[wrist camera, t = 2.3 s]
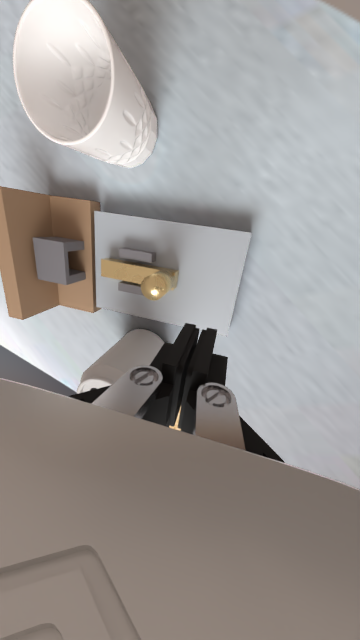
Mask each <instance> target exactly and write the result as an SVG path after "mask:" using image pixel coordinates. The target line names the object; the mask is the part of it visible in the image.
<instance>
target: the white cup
mask: <svg viewBox="0 0 360 640" xmlns="http://www.w3.org/2000/svg"><path fill="white" fill-rule="evenodd" d="M13 70H14V78H15V83H16V88H17V91H18V95H19V98H20V100H21V103H22V105H23V108H24V110H25V112H26V114H27V115H28V117H29V119H30V120H31V122H32V123H33V124H34V126H35V127H36V128H37V129H38V130H39V131H40V132H41V133H42V134H43V135H44V136H46V137H47V138H48V139H50V140H52V141H54V142H56V143H59V144H61V145H64V146H66V147H69V148H71V149H74V150H76V151H79V152H81V153H84V154H86V155H89V156H91V157H94V158H96V159H99V160H102V161H105V162H108V163H111V164H115V165H117V166H121V167H126V168H133V167H136V166H139V165H142V164H143V163H144V162H145V161H146V160H147V158H148V157H149V156H150V155H151V154H152V152H153V149H154V146H155V143H156V140H157V118H156V115H155V113H154V110H153V108H152V105H151V103H150V101H149V99H148V98H147V96H146V94H145V92H144V90H143V88H142V86H141V84H140V83H139V81H138V79H137V78H136V76H135V74H134V72H133V70H132V68H131V67H130V65H129V63H128V62H127V60H126V58H125V57H124V55H123V53H122V52H121V50H120V49H119V47H118V45H117V44H116V42H115V40H114V39H113V37H112V35H111V34H110V32H109V30H108V29H107V27H106V25H105V24H104V22H103V20H102V19H101V17H100V15H99V14H98V12H97V11H96V9H95V8H94V7H93V5H92V4H91V3H90V2H89V1H88V0H31V1H30V2H29V4H28V5H27V6H26V8H25V10H24V11H23V13H22V15H21V18H20V20H19V23H18V26H17V29H16V33H15V38H14V46H13Z"/></svg>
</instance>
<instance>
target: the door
mask: <svg viewBox="0 0 360 640" xmlns="http://www.w3.org/2000/svg"><path fill="white" fill-rule="evenodd" d="M251 234H252V233H251V232H243V231H236V230H229V229H222V228H215V227H208V226H200V225H193V224H186V223H179V222H172V221H165V220H157V219H150V218H143V217H136V216H129V215H122V214H114V213H107V212H100V202H95V201H89V200H82V199H74V198H66V197H59V196H51V195H45V194H40V193H34V192H29V191H23V190H18V189H12V188H7V187H1V186H0V271H1V277H2V282H3V287H4V292H5V297H6V303H7V308H8V313H9V316H10V317H14V318H17V319H21V320H24V319H26V318H29V317H31V316H34V315H36V314H38V313H41V312H43V311H46V310H48V309H51V308H53V307H56V306H58V305H62V306H66V307H70V308H74V309H79V310H83V311H87V312H91V313H94V312H96V311H98V310H100V309H101V308H103V309H107V310H112V311H116V312H121V313H125V314H129V315H134V316H138V317H143V318H147V319H151V320H156V321H160V322H165V323H169V324H173V325H178V326H182V327H184V325H185V323H189V324H194V325H196V328H199V330H200V331H202V329H204V330H206V329H207V327H208V328H212V329H217V335H222V336H226V337H227V335H228V331H229V327H230V323H231V318H232V314H233V310H234V306H235V302H236V297H237V293H238V289H239V285H240V281H241V276H242V272H243V268H244V264H245V260H246V255H247V251H248V247H249V243H250V239H251ZM104 258H113V259H119V260H124V261H130V262H135V263H141V264H146V265H152V266H157V267H163V268H168V269H174V270H179V274H178V282H177V288H175V289H174V290H170V291H169V292H168V293H166V294H165V295H164V296H163V297H161V298H160V299H159V300H155V301H152V300H149V299H147V298H146V297H145V296H144V295H143V294H142V291H141V284H138V283H133V282H128V281H123V280H118V279H113V278H108V277H103V276H101V259H104Z"/></svg>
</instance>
